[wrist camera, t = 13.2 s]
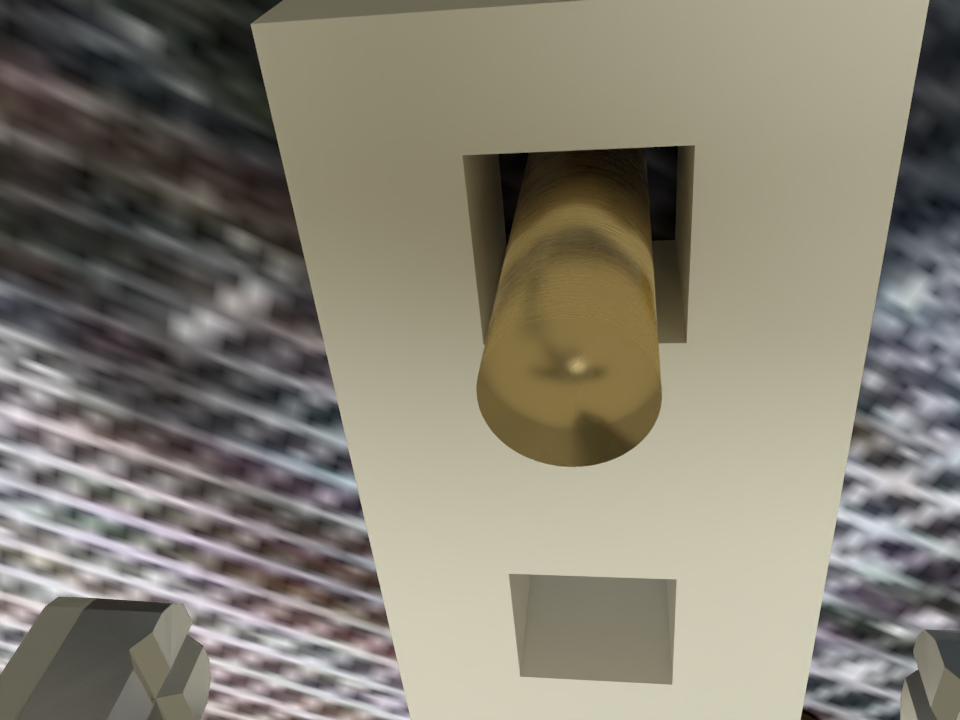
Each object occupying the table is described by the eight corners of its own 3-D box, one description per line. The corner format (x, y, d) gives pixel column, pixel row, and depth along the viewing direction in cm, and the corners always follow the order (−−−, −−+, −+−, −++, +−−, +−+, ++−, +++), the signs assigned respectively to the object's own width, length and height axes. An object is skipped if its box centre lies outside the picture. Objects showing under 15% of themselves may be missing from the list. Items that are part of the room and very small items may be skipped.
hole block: (323, -30, 21) (250, 24, 17) (865, -73, 19) (933, -25, 15) (437, 602, 33) (412, 723, 29) (772, 616, 31) (795, 747, 27)
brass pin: (524, 108, 22) (467, 318, 14) (647, 101, 21) (663, 316, 13) (531, 219, 24) (485, 465, 15) (646, 215, 23) (659, 468, 15)
